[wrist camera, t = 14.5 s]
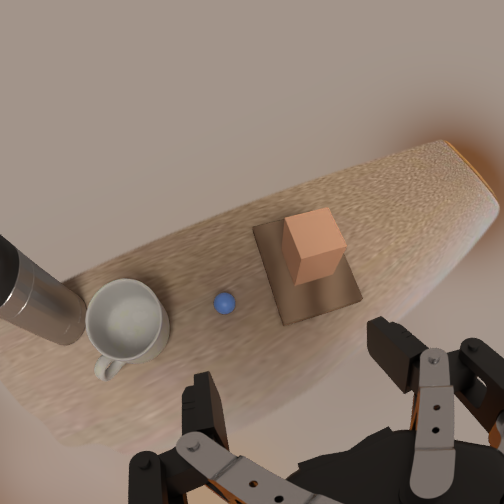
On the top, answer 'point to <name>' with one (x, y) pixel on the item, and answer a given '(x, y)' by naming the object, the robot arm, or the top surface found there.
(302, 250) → the peach colored cube
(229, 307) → the marble
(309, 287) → the board
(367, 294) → the top surface
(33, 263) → the robot arm
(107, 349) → the teacup
